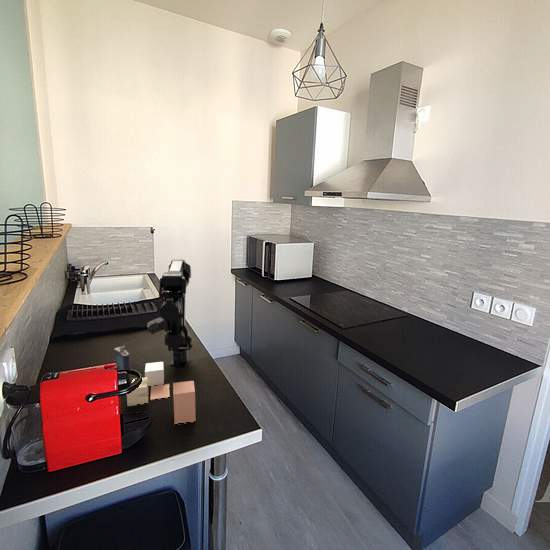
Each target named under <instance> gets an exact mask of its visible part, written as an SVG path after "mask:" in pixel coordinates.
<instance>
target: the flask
mask: <svg viewBox="0 0 550 550" xmlns="http://www.w3.org/2000/svg"><path fill="white" fill-rule="evenodd" d="M125 347H126V346H125V345H123V346H119V347H118V346H117V347H115V348H114V349H113V351H114V360H115V365H116V364H117V366H118V369H121V370H130V371H131V362H130V361H131V360H130V353H129V352H128V351H127V350H126V348H125Z"/></svg>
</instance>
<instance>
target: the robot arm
mask: <svg viewBox="0 0 550 550" xmlns="http://www.w3.org/2000/svg"><path fill="white" fill-rule="evenodd" d="M191 278H192V267H191V265H190V264H188V263H187V262H186V260H185V259H183V258H181V259H180V258H179V259H178V258H175V259H171V260H170V264H169V265H168V271H165V272H163V274H162V275H161V277H160V278H159V289H158V290H159V291H158V298H161V299H163V303H162V305H161V307H160V309H159V317H157V318H155V319H151V320H150V321H148V322H147V324H146V327H147V329H148V333H150V335H151V336H152V335H155V334H156V333H159V332H161V331H164V346H167V350H168V352H172V360H171V362H169V366H175V367H183V368H184V367H186V366H187V365H188V364H189V362H191V360H192V358H191V357H189V355H188V354H189V353H188V351H191V350H192V349H193V348H194V346H193V344H194V342H193V338H192V336H191V335H190V331H189V329H188V328H187V326H186V294H187V287H188V286H189V284H190V279H191Z"/></svg>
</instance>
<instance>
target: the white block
mask: <svg viewBox="0 0 550 550" xmlns="http://www.w3.org/2000/svg"><path fill="white" fill-rule="evenodd" d="M164 365H165V363H164V361H156V362H148V363H145V368H144V378H145V377H148V386H154V385H163V384H164V385H165V369H164Z"/></svg>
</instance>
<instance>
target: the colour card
mask: <svg viewBox="0 0 550 550" xmlns="http://www.w3.org/2000/svg"><path fill="white" fill-rule="evenodd" d="M169 388H170V383H166V384H165V383H164V385H157V386H151V387H150V400H151V401H156V400H155V399H158V400H162V399H161V398H165V399H169V398H168V397H171V396H170V394H171V393H170V390H171V389H169Z"/></svg>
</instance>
